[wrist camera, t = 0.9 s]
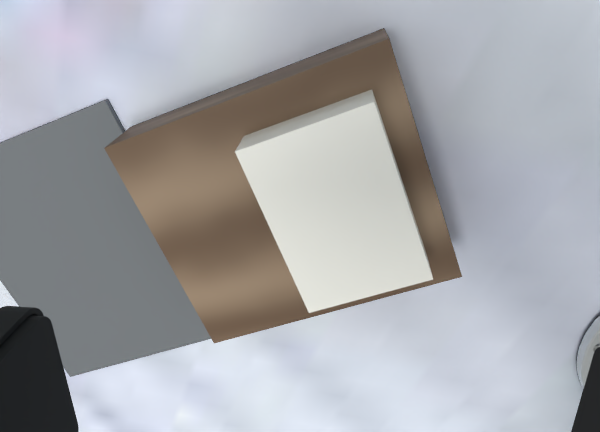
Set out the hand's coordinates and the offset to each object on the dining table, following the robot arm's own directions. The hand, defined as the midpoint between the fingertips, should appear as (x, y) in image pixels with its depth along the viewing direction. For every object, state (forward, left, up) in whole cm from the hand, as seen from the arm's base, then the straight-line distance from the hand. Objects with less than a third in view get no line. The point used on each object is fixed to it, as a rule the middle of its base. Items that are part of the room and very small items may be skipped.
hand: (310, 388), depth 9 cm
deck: (-5, +5, -23) cm, 24 cm away
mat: (-5, +20, -23) cm, 31 cm away
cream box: (-5, +2, -19) cm, 20 cm away
